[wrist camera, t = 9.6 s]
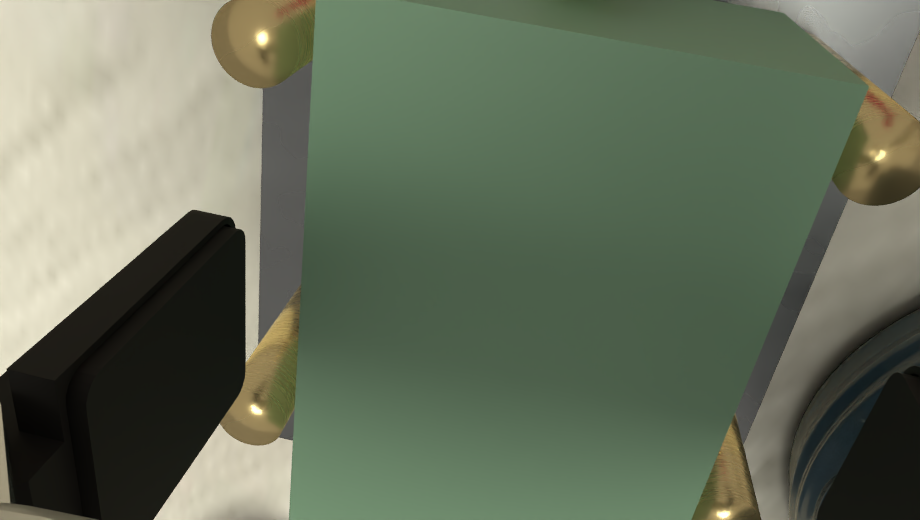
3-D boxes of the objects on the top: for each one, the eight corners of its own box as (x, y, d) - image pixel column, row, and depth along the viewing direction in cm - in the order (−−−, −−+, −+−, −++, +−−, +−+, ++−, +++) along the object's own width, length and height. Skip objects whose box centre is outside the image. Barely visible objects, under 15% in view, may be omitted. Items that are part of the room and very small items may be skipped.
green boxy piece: (783, 12, 14) (869, 86, 9) (640, 435, 19) (652, 613, 14) (403, -55, 14) (316, -15, 10) (359, 373, 19) (288, 527, 15)
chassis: (1018, -259, 14) (1334, -344, 8) (701, 508, 24) (736, 734, 18) (290, -365, 15) (82, -514, 9) (268, 412, 25) (161, 593, 19)
